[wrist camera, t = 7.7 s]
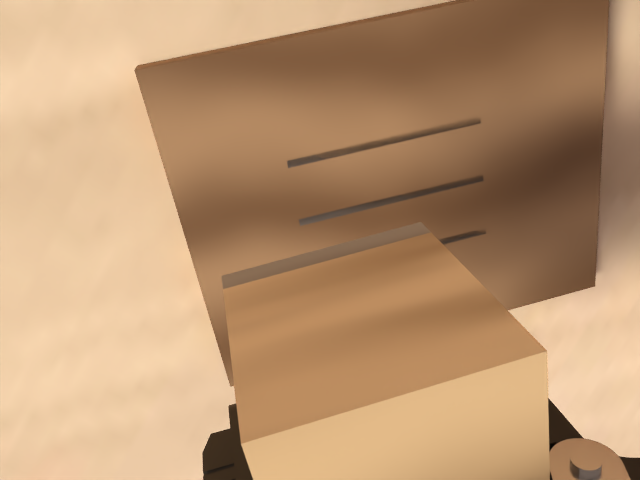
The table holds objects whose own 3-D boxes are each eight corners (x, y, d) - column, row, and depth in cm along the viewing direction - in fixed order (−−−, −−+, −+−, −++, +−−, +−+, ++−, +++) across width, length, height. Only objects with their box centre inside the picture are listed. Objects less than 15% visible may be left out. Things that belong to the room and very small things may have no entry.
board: (137, 65, 21) (134, 70, 20) (590, -28, 23) (610, -28, 22) (228, 370, 27) (230, 386, 26) (579, 274, 29) (595, 286, 28)
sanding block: (221, 275, 12) (240, 443, 8) (421, 221, 13) (546, 351, 8) (298, 526, 16) (342, 740, 11) (453, 476, 16) (554, 663, 12)
